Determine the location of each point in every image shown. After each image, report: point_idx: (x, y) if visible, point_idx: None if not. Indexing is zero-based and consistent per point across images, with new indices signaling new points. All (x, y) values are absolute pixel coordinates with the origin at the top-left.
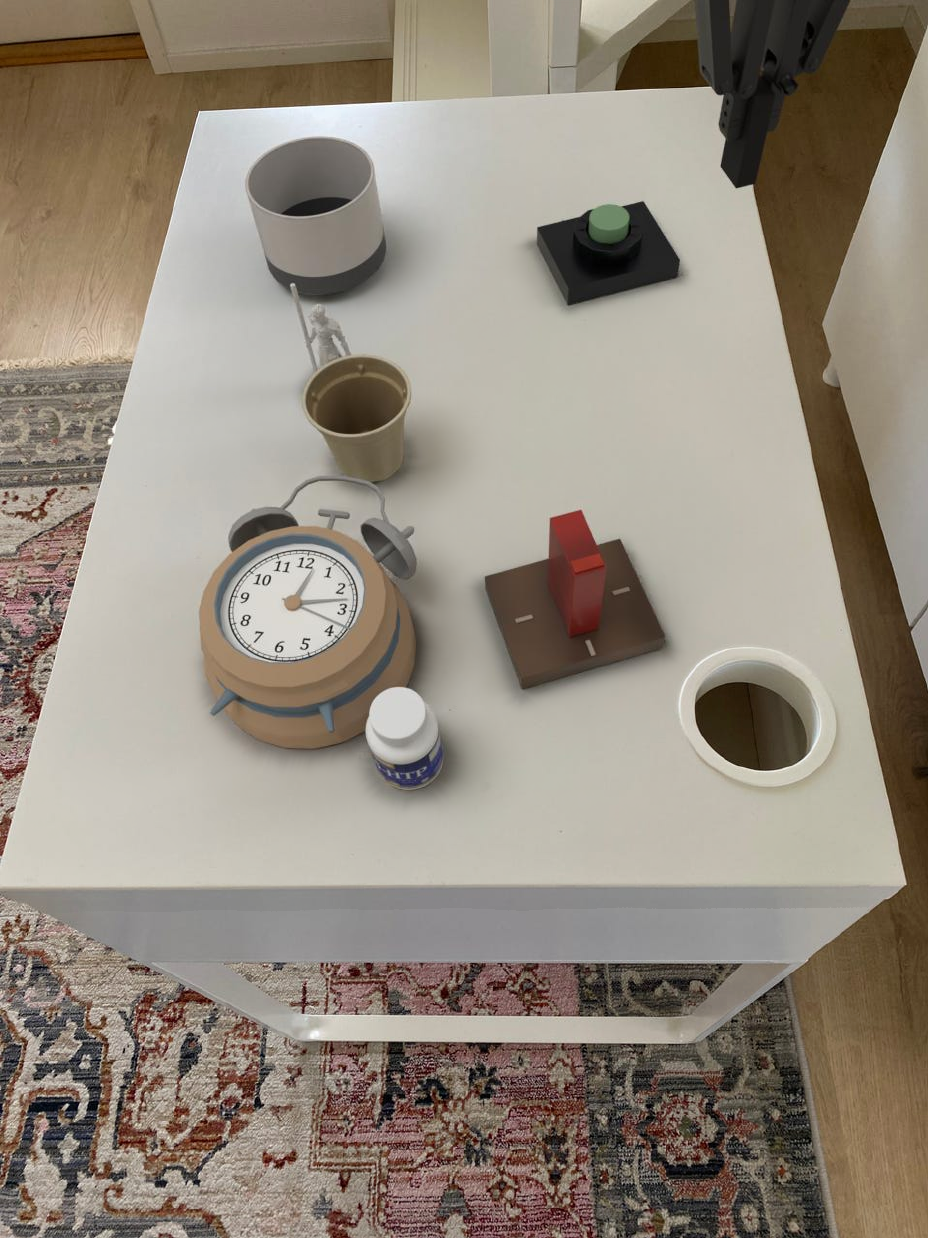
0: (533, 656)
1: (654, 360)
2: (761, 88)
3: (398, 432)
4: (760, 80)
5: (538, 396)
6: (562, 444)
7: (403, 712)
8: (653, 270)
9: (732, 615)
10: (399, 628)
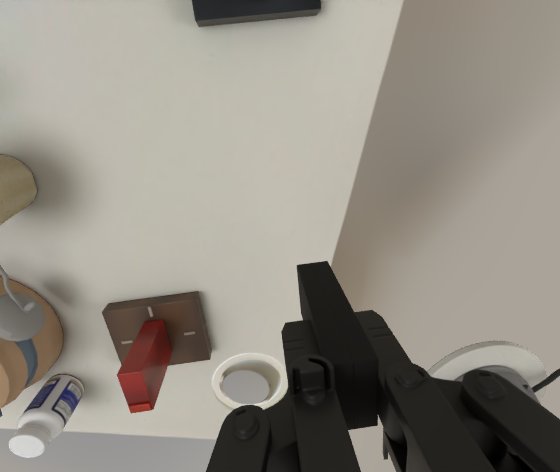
0: None
1: (264, 126)
2: (359, 407)
3: (7, 216)
4: (370, 383)
5: (157, 145)
6: (172, 199)
7: (30, 447)
8: (290, 13)
9: (255, 337)
10: (37, 358)
